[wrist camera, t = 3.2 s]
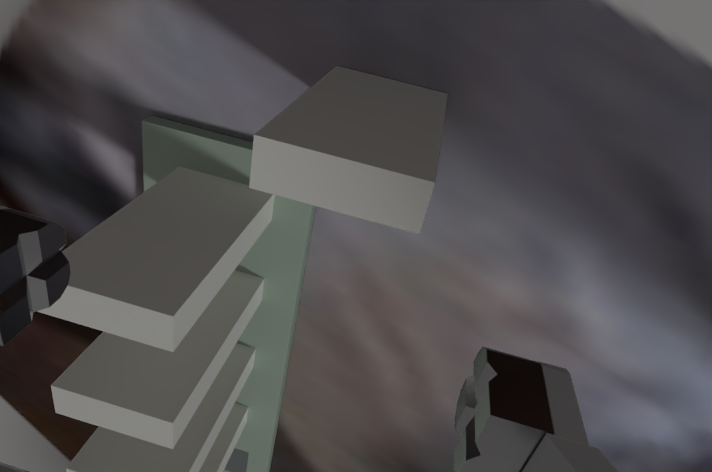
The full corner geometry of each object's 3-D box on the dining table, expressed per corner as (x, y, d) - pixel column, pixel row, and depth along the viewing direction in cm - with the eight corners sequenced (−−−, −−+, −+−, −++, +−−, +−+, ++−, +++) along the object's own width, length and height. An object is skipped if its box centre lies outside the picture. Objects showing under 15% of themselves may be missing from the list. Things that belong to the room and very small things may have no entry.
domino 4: (177, 385, 37) (77, 532, 27) (248, 407, 36) (172, 563, 27) (177, 401, 38) (80, 548, 28) (246, 422, 37) (172, 579, 28)
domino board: (151, 115, 27) (141, 120, 27) (323, 161, 27) (319, 168, 26) (158, 460, 44) (152, 470, 43) (265, 494, 43) (261, 505, 42)
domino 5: (336, 65, 24) (254, 134, 15) (448, 93, 24) (435, 182, 14) (330, 101, 25) (249, 187, 16) (437, 128, 25) (419, 234, 15)
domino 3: (177, 325, 34) (65, 468, 24) (255, 348, 33) (172, 502, 24) (177, 344, 35) (69, 489, 25) (253, 367, 34) (172, 522, 25)
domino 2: (178, 253, 31) (50, 385, 21) (264, 278, 30) (172, 423, 21) (178, 276, 32) (55, 412, 22) (261, 301, 31) (172, 449, 22)
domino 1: (179, 166, 27) (30, 274, 18) (274, 192, 27) (173, 316, 18) (179, 194, 28) (37, 311, 19) (271, 220, 28) (173, 352, 19)
